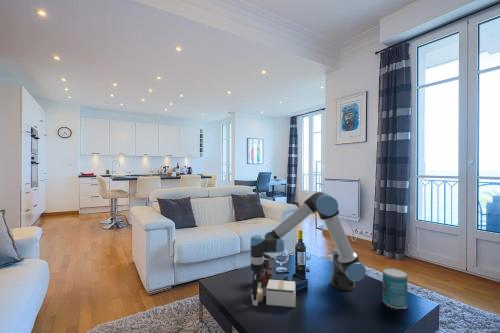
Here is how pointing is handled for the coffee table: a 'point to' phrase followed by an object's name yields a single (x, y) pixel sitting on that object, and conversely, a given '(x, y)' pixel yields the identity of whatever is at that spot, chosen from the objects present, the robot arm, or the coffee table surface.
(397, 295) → the food can
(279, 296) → the carton
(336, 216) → the robot arm
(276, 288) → the lid
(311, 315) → the coffee table surface
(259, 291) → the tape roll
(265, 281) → the brown tall irregular piece
